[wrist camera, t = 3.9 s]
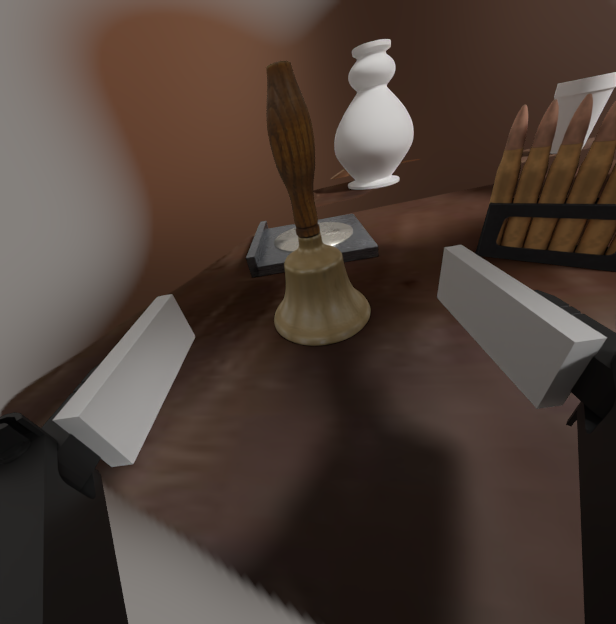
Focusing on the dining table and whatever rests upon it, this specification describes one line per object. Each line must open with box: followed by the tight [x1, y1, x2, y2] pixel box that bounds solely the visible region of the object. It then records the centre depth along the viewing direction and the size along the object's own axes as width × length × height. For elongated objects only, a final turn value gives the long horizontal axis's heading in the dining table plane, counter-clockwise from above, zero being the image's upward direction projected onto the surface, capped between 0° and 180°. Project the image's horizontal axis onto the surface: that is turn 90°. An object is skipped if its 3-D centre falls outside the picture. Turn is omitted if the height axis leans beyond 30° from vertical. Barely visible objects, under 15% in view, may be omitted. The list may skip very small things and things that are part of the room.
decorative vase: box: [334, 39, 413, 190], centre depth 58 cm, size 18×18×25 cm
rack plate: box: [246, 214, 378, 277], centre depth 35 cm, size 15×15×2 cm
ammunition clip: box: [475, 93, 616, 272], centre depth 20 cm, size 11×2×12 cm, turn 50°
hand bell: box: [267, 61, 371, 346], centre depth 18 cm, size 8×8×16 cm
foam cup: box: [550, 72, 616, 154], centre depth 56 cm, size 10×9×13 cm
